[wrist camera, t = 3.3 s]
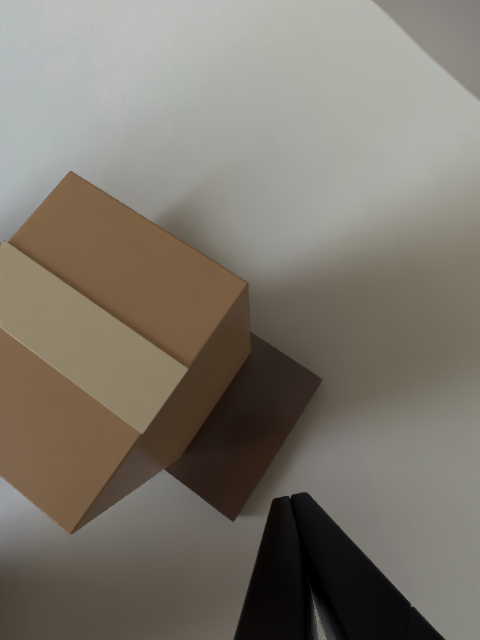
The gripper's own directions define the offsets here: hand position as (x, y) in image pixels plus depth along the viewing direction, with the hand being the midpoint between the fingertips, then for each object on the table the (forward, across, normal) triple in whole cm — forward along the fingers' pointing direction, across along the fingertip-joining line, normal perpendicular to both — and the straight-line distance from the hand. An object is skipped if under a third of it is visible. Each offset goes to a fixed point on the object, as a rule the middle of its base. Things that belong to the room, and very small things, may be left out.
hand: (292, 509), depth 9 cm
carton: (+12, +4, +2) cm, 13 cm away
